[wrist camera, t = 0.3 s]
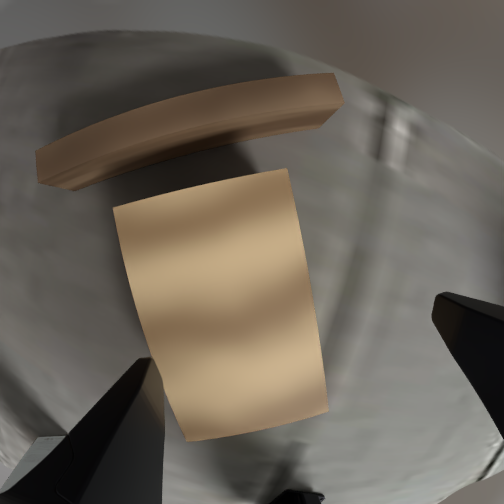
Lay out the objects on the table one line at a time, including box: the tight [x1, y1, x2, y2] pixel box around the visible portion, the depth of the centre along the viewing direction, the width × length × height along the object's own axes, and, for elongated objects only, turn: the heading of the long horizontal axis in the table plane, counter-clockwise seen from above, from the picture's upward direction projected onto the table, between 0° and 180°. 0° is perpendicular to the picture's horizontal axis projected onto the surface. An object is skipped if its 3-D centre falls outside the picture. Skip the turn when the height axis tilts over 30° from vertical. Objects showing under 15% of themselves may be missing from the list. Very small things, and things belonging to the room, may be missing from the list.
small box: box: [0, 436, 65, 493], centre depth 17 cm, size 8×6×13 cm
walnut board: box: [35, 73, 345, 191], centre depth 20 cm, size 2×22×6 cm, turn 103°
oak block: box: [113, 168, 329, 442], centre depth 20 cm, size 16×10×8 cm, turn 12°
